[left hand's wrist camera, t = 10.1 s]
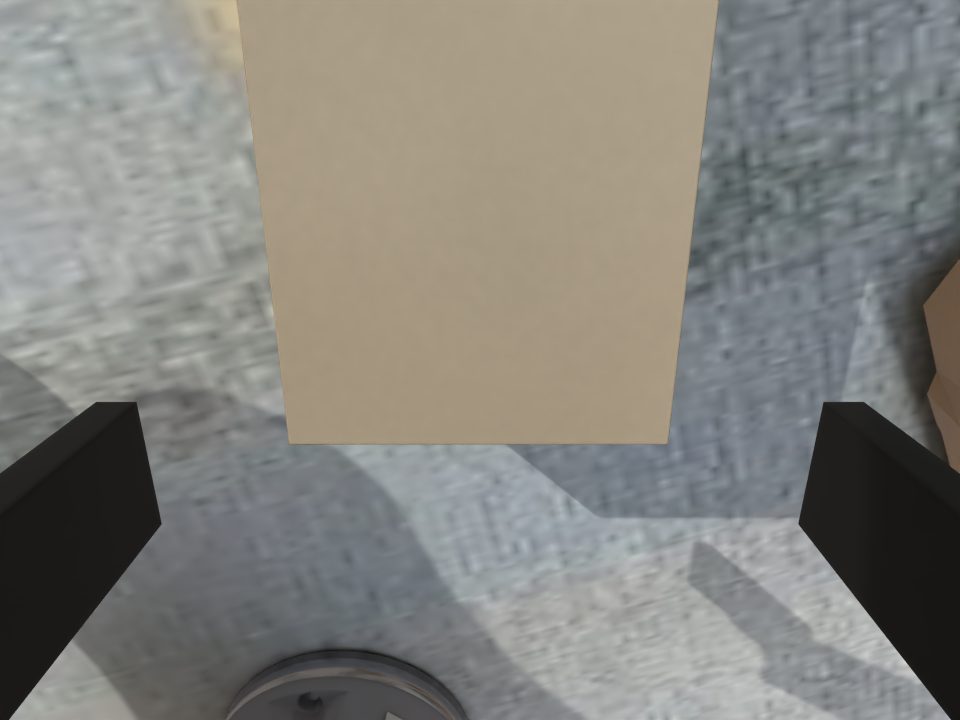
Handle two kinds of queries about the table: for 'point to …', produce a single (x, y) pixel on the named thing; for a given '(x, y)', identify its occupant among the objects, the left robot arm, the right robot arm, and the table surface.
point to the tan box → (478, 213)
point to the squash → (946, 360)
